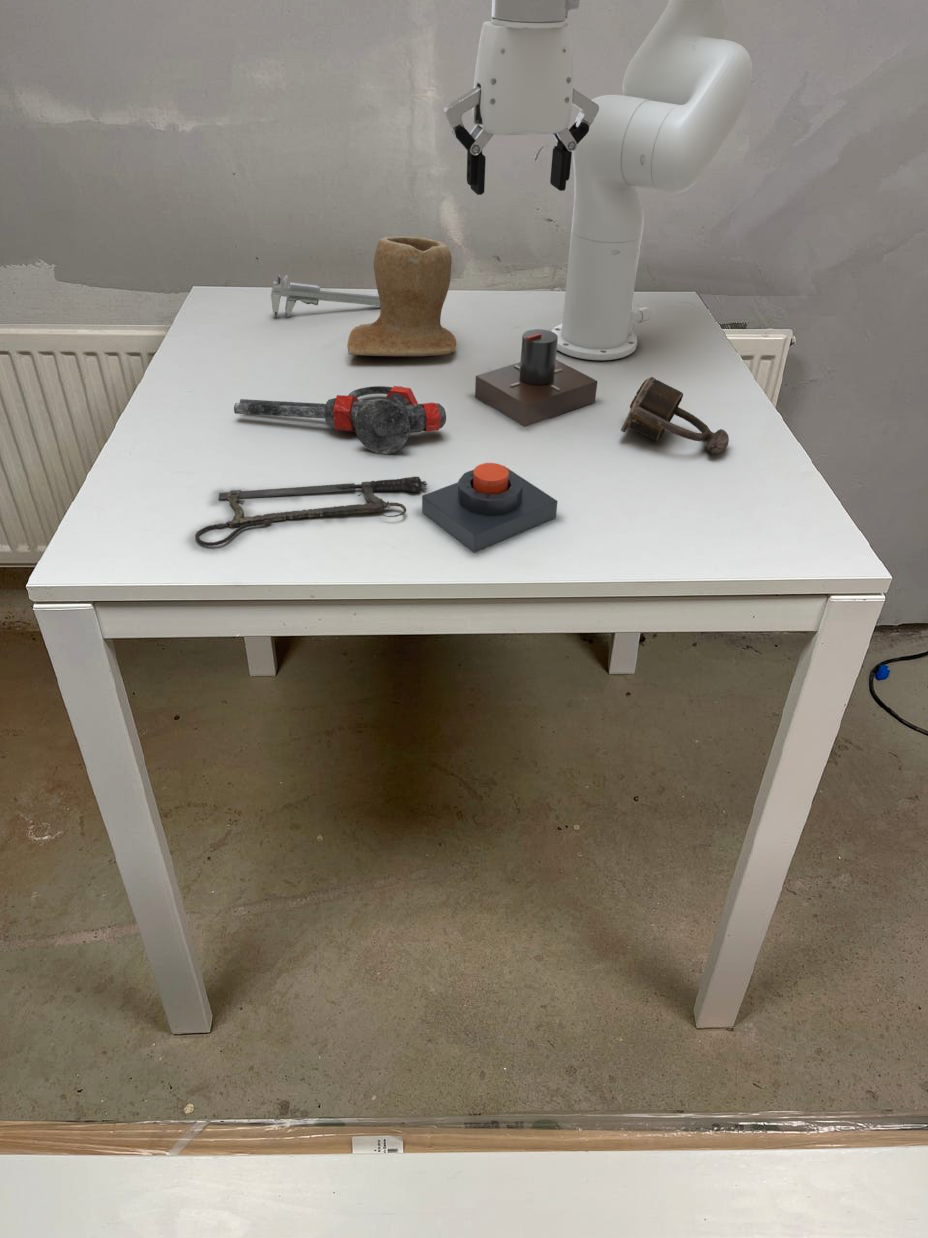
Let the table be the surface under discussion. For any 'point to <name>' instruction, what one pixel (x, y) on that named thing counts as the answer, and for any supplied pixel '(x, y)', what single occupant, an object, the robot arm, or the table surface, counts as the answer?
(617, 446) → the table surface
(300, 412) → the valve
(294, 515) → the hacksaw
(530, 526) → the button box
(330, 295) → the caliper
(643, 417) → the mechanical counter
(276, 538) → the table surface
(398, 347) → the stone cup
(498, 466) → the button
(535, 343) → the dial
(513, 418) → the dial panel
